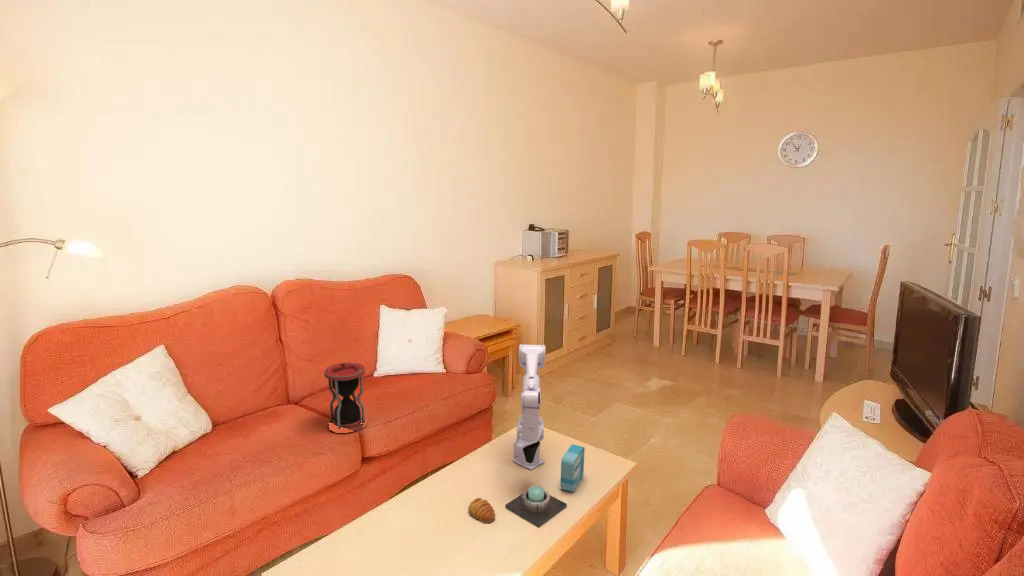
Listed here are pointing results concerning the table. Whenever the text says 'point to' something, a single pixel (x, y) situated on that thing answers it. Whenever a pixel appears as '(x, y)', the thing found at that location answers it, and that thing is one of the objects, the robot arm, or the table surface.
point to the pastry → (481, 510)
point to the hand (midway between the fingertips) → (529, 461)
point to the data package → (572, 468)
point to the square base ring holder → (536, 508)
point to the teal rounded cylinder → (536, 494)
